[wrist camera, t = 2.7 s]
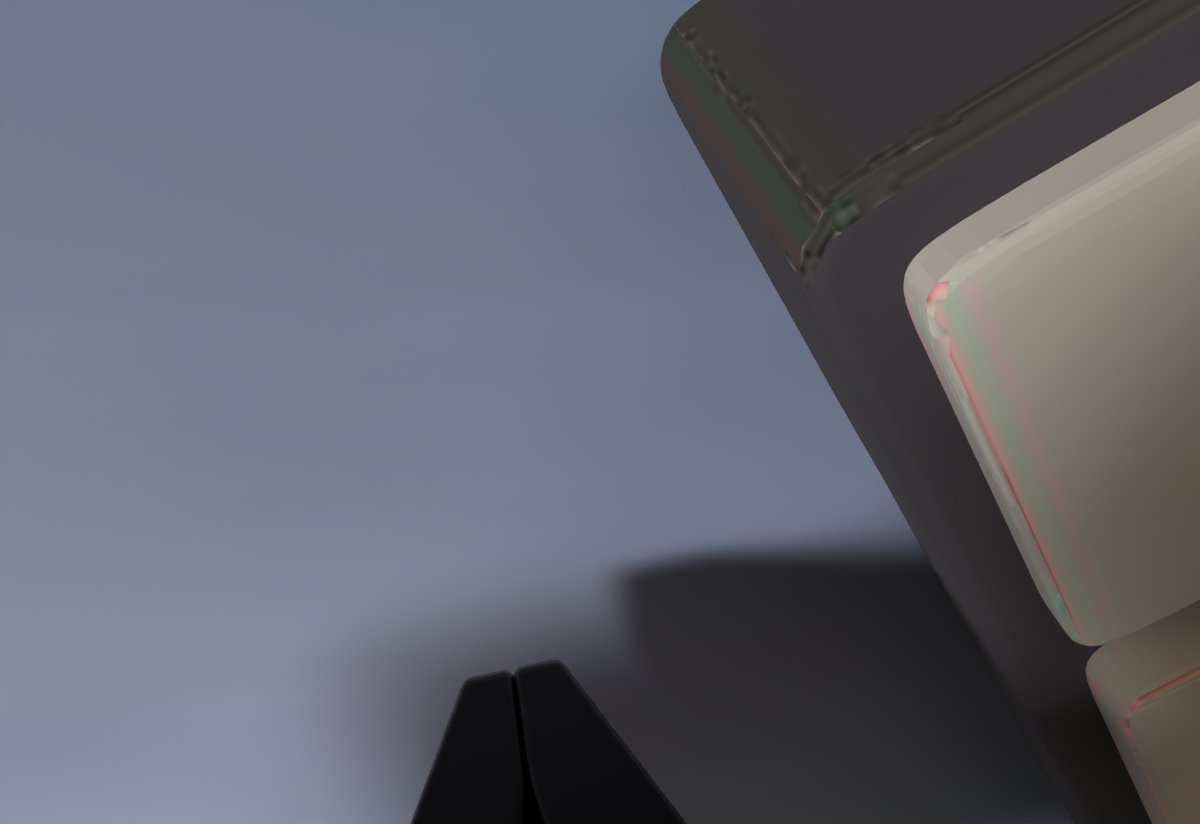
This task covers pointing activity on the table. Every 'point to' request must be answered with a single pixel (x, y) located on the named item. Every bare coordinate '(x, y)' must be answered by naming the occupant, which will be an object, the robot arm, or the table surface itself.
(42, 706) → the table surface
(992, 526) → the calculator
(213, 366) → the table surface
